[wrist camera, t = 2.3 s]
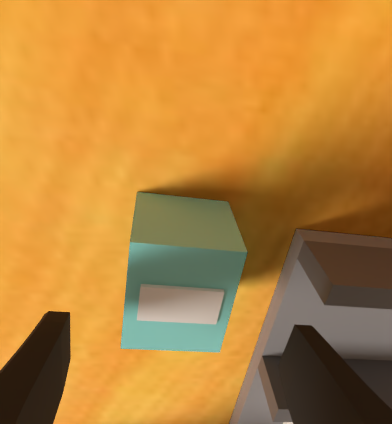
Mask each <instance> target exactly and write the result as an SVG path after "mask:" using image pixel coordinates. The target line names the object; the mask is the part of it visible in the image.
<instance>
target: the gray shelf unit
mask: <svg viewBox="0 0 392 424" xmlns="http://www.w3.org/2000/svg"><path fill="white" fill-rule="evenodd" d="M295 324H296V325H312V326H313V327H314V328H315V329H316V330H317V331H318V332H319V334H320V335H321V336H322V337H323V338H324V339H325V340H326V341H327V342H328V343H329V344H330V346H331V347H332V348H333V349H334V350H335V351H336V352H337V353H338V354H339V355H340V356H341V358H342V359H343V360H344V361H345V362H346V363H347V364H348V365H349V366H350V367H351V368H352V369H353V371H354V372H355V373H356V374H357V375H358V376H359V377H360V378H361V379H362V380H363V381H364V382H365V383H366V384H367V385H368V386H369V387H370V388H371V389H372V390H373V391H374V392H375V393H376V394H377V395H378V396H379V397H380V398H381V399H382V400H383V401H384V402H385V403H386V404H387V405H388V406H389V407H390V408H391V409H392V238H385V237H375V236H365V235H354V234H344V233H334V232H324V231H314V230H304V229H296V231H295V234H294V236H293V239H292V242H291V245H290V248H289V251H288V254H287V257H286V260H285V263H284V266H283V268H282V271H281V274H280V277H279V280H278V283H277V286H276V289H275V292H274V295H273V297H272V300H271V303H270V306H269V309H268V312H267V315H266V318H265V321H264V324H263V326H262V329H261V332H260V335H259V338H258V341H257V344H256V347H255V350H254V353H253V356H252V358H251V361H250V364H249V367H248V370H247V373H246V376H245V379H244V382H243V385H242V387H241V390H240V393H239V396H238V399H237V402H236V405H235V408H234V411H233V414H232V416H231V419H230V422H229V424H283V422H292V419H291V416H290V413H289V410H288V407H287V403H286V400H285V397H284V393H283V388H282V384H281V379H280V374H279V369H278V364H279V362H280V359H281V357H282V354H283V352H284V349H285V347H286V344H287V342H288V339H289V337H290V335H291V332H292V330H293V327H294V325H295Z"/></svg>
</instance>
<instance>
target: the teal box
mask: <svg viewBox="0 0 392 424" xmlns="http://www.w3.org/2000/svg"><path fill="white" fill-rule="evenodd" d="M247 253H248V252H247V249H246V247H245V244H244V241H243V239H242V236H241V234H240V231H239V228H238V226H237V223H236V221H235V218H234V215H233V213H232V210H231V207H230V205H229V202H227V201H218V200H209V199H200V198H190V197H181V196H172V195H163V194H153V193H144V192H137V196H136V203H135V210H134V217H133V224H132V231H131V239H130V248H129V259H128V270H127V282H126V293H125V304H124V316H123V327H122V338H121V349H145V350H171V351H197V352H220V350H221V346H222V342H223V339H224V335H225V332H226V328H227V324H228V321H229V317H230V314H231V310H232V307H233V303H234V299H235V296H236V292H237V289H238V285H239V281H240V278H241V274H242V271H243V267H244V264H245V260H246V256H247Z"/></svg>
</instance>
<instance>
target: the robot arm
mask: <svg viewBox="0 0 392 424" xmlns="http://www.w3.org/2000/svg"><path fill="white" fill-rule="evenodd" d="M69 363H70V312H54V311H48V312H47V313H46V314H45V315H44V316H43V317H42V319H41V320H40V322H39V323H38V324H37V326H36V327H35V329H34V330H33V331H32V333H31V334H30V335H29V336H28V338H27V339H26V340H25V342H24V343H23V344H22V345H21V347H20V348H19V349H18V350H17V352H16V353H15V354H14V355H13V356H12V357H11V359H10V360H9V361H8V362H7V363H6V365H5V366H4V367H3V368H2V369H1V370H0V424H53V422H54V419H55V416H56V413H57V409H58V406H59V403H60V400H61V397H62V394H63V390H64V386H65V381H66V377H67V372H68V367H69ZM278 369H279V374H280V379H281V384H282V388H283V393H284V397H285V400H286V403H287V407H288V410H289V413H290V416H291V419H292V422H293V424H392V409H391V408H390V407H389V406H388V405H387V404H386V403H385V402H384V401H383V400H382V399H381V398H380V397H379V396H378V395H377V394H376V393H375V392H374V391H373V390H372V389H371V388H370V387H369V386H368V385H367V384H366V383H365V382H364V381H363V380H362V379H361V378H360V377H359V376H358V375H357V374H356V373H355V372H354V371H353V369H352V368H351V367H350V366H349V365H348V364H347V363H346V362H345V361H344V360H343V359H342V358H341V356H340V355H339V354H338V353H337V352H336V351H335V350H334V349H333V348H332V347H331V346H330V344H329V343H328V342H327V341H326V340H325V339H324V338H323V337H322V336H321V335H320V334H319V332H318V331H317V330H316V329H315V328H314V327H313V326H312V325H296V324H295V325H294V327H293V330H292V332H291V335H290V337H289V339H288V342H287V344H286V347H285V349H284V352H283V354H282V357H281V359H280V362H279V364H278Z"/></svg>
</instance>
